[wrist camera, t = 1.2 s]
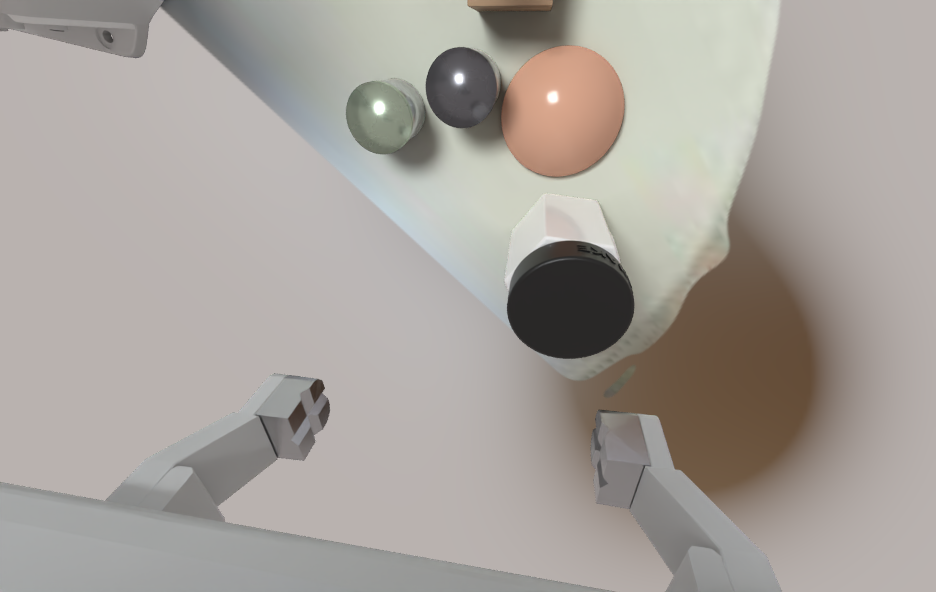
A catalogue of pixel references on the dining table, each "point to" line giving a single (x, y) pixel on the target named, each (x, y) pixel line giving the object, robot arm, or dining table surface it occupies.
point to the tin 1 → (385, 114)
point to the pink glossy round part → (562, 110)
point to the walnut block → (511, 5)
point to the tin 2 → (463, 86)
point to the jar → (566, 279)
